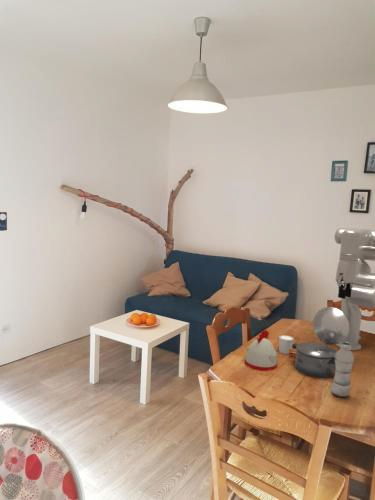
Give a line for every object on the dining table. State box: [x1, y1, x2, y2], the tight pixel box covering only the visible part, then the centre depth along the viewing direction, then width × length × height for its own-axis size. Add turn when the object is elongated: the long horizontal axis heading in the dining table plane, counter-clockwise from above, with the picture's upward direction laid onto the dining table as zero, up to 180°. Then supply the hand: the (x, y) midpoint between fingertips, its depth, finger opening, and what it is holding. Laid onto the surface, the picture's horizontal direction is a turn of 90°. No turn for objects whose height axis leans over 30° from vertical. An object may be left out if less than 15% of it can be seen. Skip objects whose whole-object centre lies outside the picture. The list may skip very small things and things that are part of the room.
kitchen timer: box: [244, 329, 278, 372], centre depth 167 cm, size 14×14×15 cm
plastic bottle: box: [330, 342, 355, 398], centre depth 142 cm, size 6×7×20 cm
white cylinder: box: [278, 334, 295, 355], centre depth 182 cm, size 7×7×7 cm
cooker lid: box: [312, 306, 350, 346], centre depth 170 cm, size 16×16×3 cm
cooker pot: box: [292, 341, 338, 379], centre depth 163 cm, size 17×25×9 cm, turn 41°
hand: (344, 296), depth 174 cm, fingers open, 4 cm apart
